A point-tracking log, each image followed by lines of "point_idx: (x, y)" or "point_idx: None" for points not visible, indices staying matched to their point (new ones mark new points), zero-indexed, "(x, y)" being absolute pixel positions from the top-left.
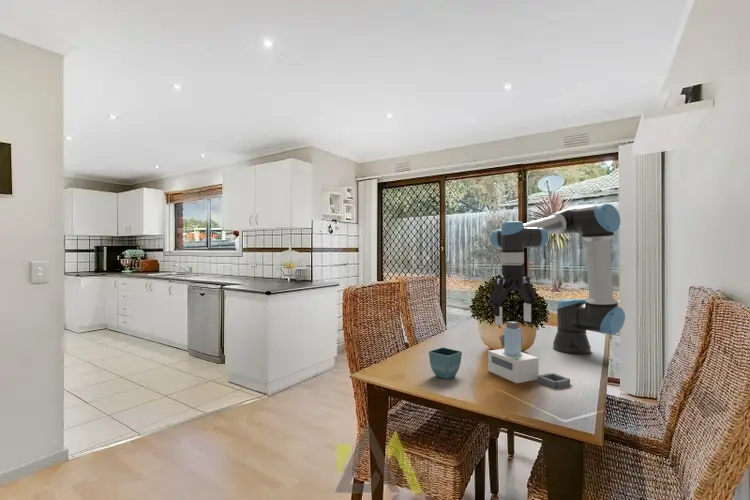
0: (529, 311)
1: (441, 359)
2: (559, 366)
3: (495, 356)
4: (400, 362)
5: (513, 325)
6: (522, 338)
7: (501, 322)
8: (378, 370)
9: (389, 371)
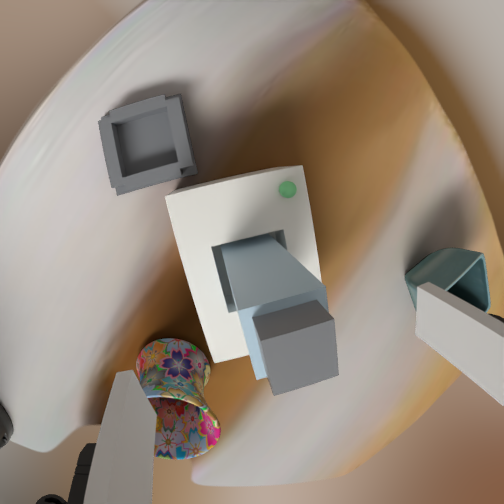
0: (116, 439)
1: (476, 269)
2: (35, 310)
3: None
4: (443, 373)
5: (318, 313)
6: None
7: (438, 292)
8: None
9: None
